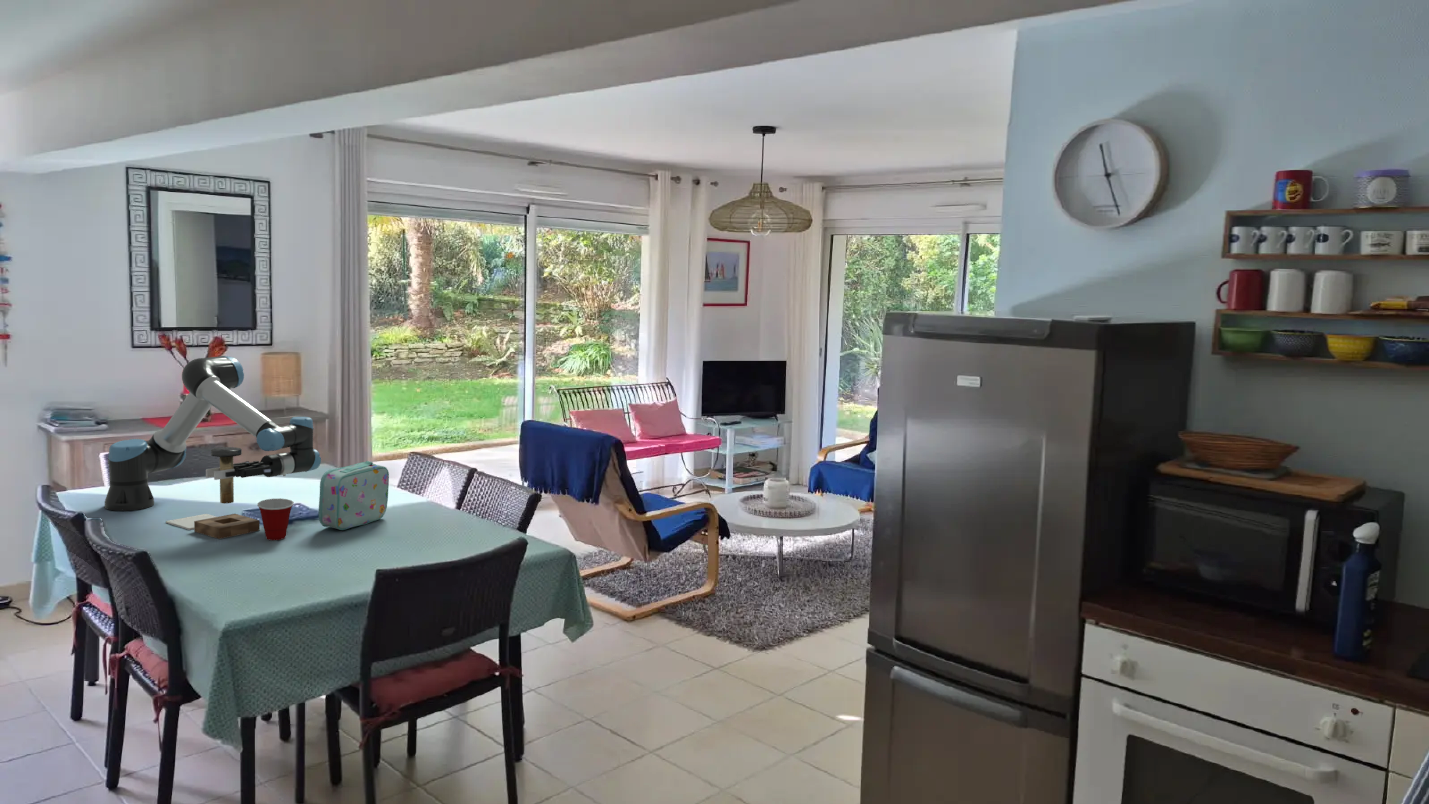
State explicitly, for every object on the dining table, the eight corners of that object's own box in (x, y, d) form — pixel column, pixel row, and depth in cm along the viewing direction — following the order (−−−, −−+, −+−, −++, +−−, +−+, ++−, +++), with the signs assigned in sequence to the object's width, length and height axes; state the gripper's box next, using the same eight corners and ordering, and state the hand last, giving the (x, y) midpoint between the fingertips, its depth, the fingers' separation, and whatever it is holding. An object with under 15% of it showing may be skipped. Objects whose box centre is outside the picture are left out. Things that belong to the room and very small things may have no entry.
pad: (166, 522, 323) (165, 521, 323) (206, 515, 335) (206, 513, 335) (189, 530, 316) (189, 528, 316) (229, 522, 328) (229, 520, 328)
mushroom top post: (205, 502, 314) (205, 449, 312) (231, 497, 322) (231, 446, 319) (221, 506, 309) (221, 453, 307) (247, 502, 317) (247, 449, 315)
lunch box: (368, 514, 347) (368, 456, 345) (392, 517, 344) (392, 458, 341) (315, 530, 322) (314, 468, 320) (339, 534, 319) (339, 471, 316)
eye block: (194, 531, 314) (194, 521, 314) (234, 523, 326) (234, 513, 326) (219, 539, 307) (218, 528, 307) (259, 530, 319) (259, 520, 318)
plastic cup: (260, 544, 304) (259, 507, 302) (255, 535, 313) (255, 500, 311) (296, 540, 309) (296, 504, 308) (291, 532, 318) (291, 497, 317)
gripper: (291, 479, 325) (226, 490, 306) (261, 472, 334) (195, 482, 314) (291, 457, 325) (225, 467, 305) (261, 450, 333) (195, 459, 314)
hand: (210, 474), depth 310 cm, fingers closed on mushroom top post, 4 cm apart
